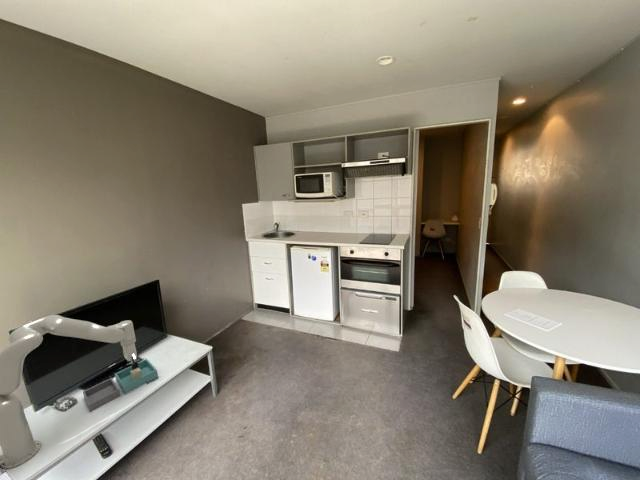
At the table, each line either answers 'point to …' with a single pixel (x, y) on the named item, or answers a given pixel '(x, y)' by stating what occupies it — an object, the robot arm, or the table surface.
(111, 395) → the bin
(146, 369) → the bin
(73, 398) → the egg carton
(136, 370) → the stone block
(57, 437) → the table surface
